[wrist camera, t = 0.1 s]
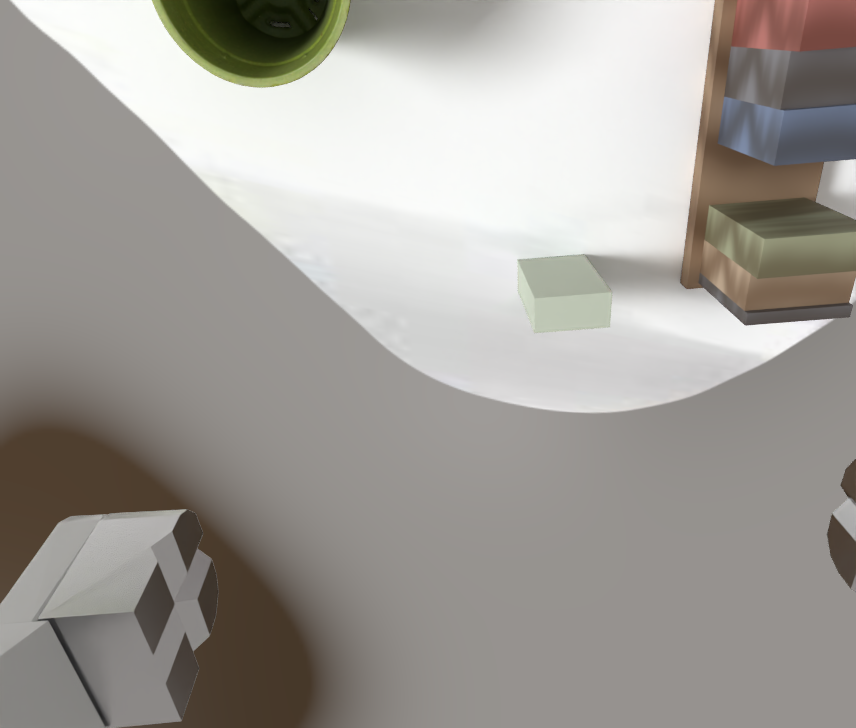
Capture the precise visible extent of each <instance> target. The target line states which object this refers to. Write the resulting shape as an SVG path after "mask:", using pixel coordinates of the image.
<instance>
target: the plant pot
mask: <svg viewBox="0 0 856 728" xmlns="http://www.w3.org/2000/svg"><path fill="white" fill-rule="evenodd" d="M350 1H351V0H318V2H317V1H315V0H152V2H153V4H154V7H155V9H156V11H157V13H158V16H159V18H160V19H161V21H162V23H163V25H164V27H165V28H166V30H167V31H168V33H169V34H170V35H171V37H172V38H173V39H174V41H175V42H176V43H177V44H178V46H179V47H180V48H181V49H182V50H183V51H184V52H185V53H186V54H187V55H188V56H189V57H190V58H191V59H192V60H193V61H195V62H196V63H197V64H199V65H200V66H201V67H203V68H204V69H206V70H207V71H209V72H210V73H212V74H214V75H215V76H217V77H219V78H221V79H224V80H226V81H229V82H232V83H235V84H239V85H243V86H250V87H274V86H279V85H283V84H287V83H290V82H293V81H295V80H298V79H300V78H302V77H303V76H305V75H307V74H308V73H310V72H311V71H312V70H314V69H315V68H316V67H317V66H318V65H320V64H321V63H322V62H323V61H324V60H325V58H326V57H327V56H328V55H329V53H330V52H331V51H332V49H333V48H334V46H335V45H336V43H337V41H338V39H339V37H340V35H341V33H342V31H343V28H344V26H345V23H346V20H347V16H348V12H349V7H350ZM309 9H310V10H311V11H312V12H313V13H314V14H315V15H316V16H317V18H318V19H317V20H315V18H314V16H313V15H312V14H311V12H310V11H309ZM259 16H260V17H259ZM271 21H276V22H282V23H284V22H286V23H287V22H289V23H290V27H292V28H289V27H284V28H282V27H275V26H272V25H271V24H270V22H271Z"/></svg>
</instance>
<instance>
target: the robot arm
mask: <svg viewBox="0 0 856 728" xmlns="http://www.w3.org/2000/svg"><path fill="white" fill-rule="evenodd" d="M841 487H842V489H843V490H844V492H845V493H846V495H847V496H848V499H847V500H846V501H845V502H844V503H843V504H842V505H841V506H840V507H838V508H837V509H836V510H835V511H834V512H833V513H832V515H831V519H830V524H829V528H828V532H827V537H828V544H829V549H830V556H831V558H832V560H833V562H834V564H835V567H836V569H837V571H838V573H839V574H840V575H841V577H842V578H843V579H844V580H845V582H846V583H847V585H848V586H849V587H850V589H851V590H853V591H855V592H856V459H855V460H854V461H853V462H852V463H851V464H850V465H849V466H848V467H847V468H846V470H845V473H844V476H843V479H842V482H841ZM202 535H203V531H202V529H201V526H200V524H199V521H198V518H197V516H196V514H195V513H194V512H192V511H189V510H187V509H186V510H167V511H149V512H129V513H113V514H109V515H86V516H71V517H69V518H67V519H65V520H63V521H61V522H59V523H58V525H57V526H56V527H55V529H54V530H53V531H52V533H51V534H50V536H49V537H48V538H47V540H46V542H45V543H44V544H43V546H42V547H41V548H40V550H39V551H38V553H37V554H36V555H35V557H34V558H33V560H32V561H31V562H30V564H29V565H28V567H27V568H26V569H25V571H24V572H23V574H22V575H21V577H20V578H19V579H18V581H17V582H16V583H15V585H14V586H13V588H12V589H11V590H10V592H9V593H8V595H7V596H6V598H5V599H4V600H3V602H2V603H1V605H0V728H117V727H126V726H137V725H146V724H157V723H166V722H177V721H182V718H183V715H184V712H185V709H186V706H187V703H188V700H189V697H190V694H191V691H192V688H193V685H194V682H195V679H196V676H197V673H198V670H199V666H198V664H197V661H196V658H195V656H194V653H193V651H194V650H195V649H196V648H197V647H198V646H199V645H200V644H201V643H202V642H204V641H205V640H206V639H207V638H208V637H209V636H210V633H211V630H212V627H213V623H214V620H215V617H216V611H217V600H218V583H217V576H216V571H215V568H214V565H213V561H212V559H211V558H209V557H208V556H207V555H205V554H204V553H203V552H201V551H200V550H199V549H197V547H198V545H199V542H200V540H201V538H202Z"/></svg>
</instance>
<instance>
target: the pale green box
mask: <svg viewBox="0 0 856 728" xmlns="http://www.w3.org/2000/svg"><path fill="white" fill-rule="evenodd" d="M517 268H518V293H519V295H520V298H521V300H522V303H523V305H524V308H525V310H526V313H527V316H528V318H529V321H530V323H531V326H532V328H533V331H534V333H543V332H556V331H568V330H581V329H594V328H606V327H610V318H611V303H612V291H611V290H610V288H609V287H608V286H607V284H606V283H605V282H604V280H603V279H602V278H601V276H600V275H599V274H598V272H597V271H596V270H595V268H594V267H593V266H592V264H591V263H590V262H589V260H588V259H587V257H586V256H585V255H584V254H582V255H570V256H557V257H545V258H533V259H520V260H517Z"/></svg>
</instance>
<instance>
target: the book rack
mask: <svg viewBox="0 0 856 728" xmlns="http://www.w3.org/2000/svg"><path fill="white" fill-rule="evenodd" d="M850 159H856V0H715V5H714V13H713V22H712V30H711V38H710V46H709V54H708V62H707V70H706V78H705V87H704V95H703V103H702V111H701V119H700V127H699V135H698V143H697V152H696V160H695V168H694V176H693V184H692V192H691V200H690V208H689V217H688V225H687V233H686V241H685V249H684V257H683V265H682V273H681V282H680V283H681V284H682V285H683V286H684V287H685V288H686V289H693V288H705V289H706V290H707V291H708V292H709V293H710V294H711V295H712V296H713V297H715V298H716V299H717V300H718V301H719V302H720V303H721V304H722V305H723V306H724V307H726V308H727V309H728V310H729V311H730V312H731V313H732V314H733V315H734V316H735V317H737V318H738V319H739V320H740V321H741V322H742V323H743V324H744V325H756V324H769V323H782V322H795V321H807V320H820V319H833V318H845V317H850V314H851V311H852V307H853V305H852V304H850V303H849V300H850V297H851V293H852V289H853V285H854V282H855V278H856V220H854V219H852V218H850V217H848V216H845V215H843V214H841V213H839V212H836V211H834V210H832V209H830V208H827V207H825V206H823V205H821V204H818V203H816V202H815V201H816V196H817V192H818V187H819V183H820V178H821V174H822V169H823V164H824V162H826V161H838V160H850Z"/></svg>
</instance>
